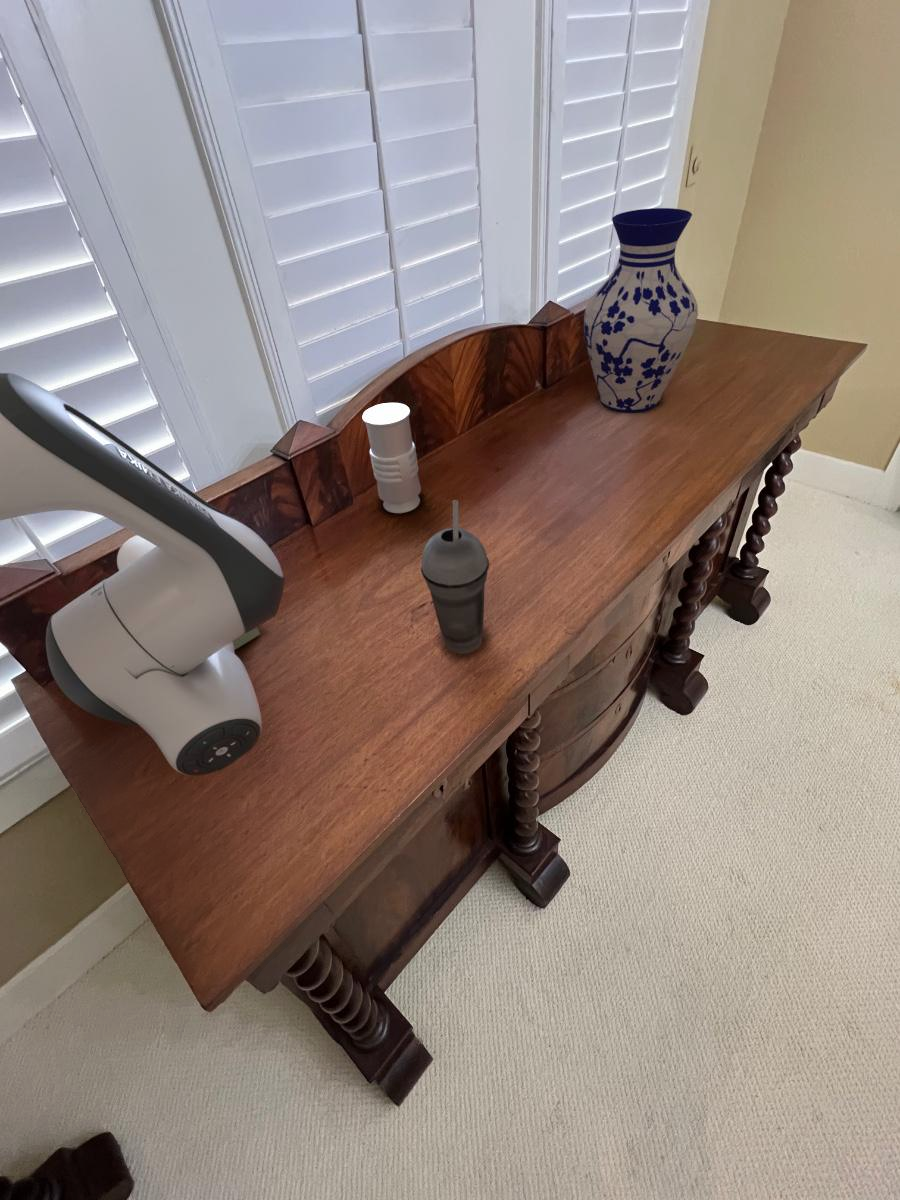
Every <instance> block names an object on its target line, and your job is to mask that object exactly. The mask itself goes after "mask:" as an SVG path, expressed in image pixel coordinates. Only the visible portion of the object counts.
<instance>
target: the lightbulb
mask: <svg viewBox="0 0 900 1200" xmlns="http://www.w3.org/2000/svg"><path fill="white" fill-rule="evenodd" d="M155 547H156V546H155V545H154V544H152V543H150V542H148V541H147V540H145V539H143V538H141V537H140V536H138V535H136V534H135V535H134V536H131V537H130V538H128V539H127V540H126V541H125V542H124V543H122V544H121V546H120V548H119V549H118V552H117V556H116V567H117V569H118V571H120V570H121V569H123V568H124V567H126V566H127V565H129V564H130V563H132V562H133V561H135V560H136V559H138V558H139V557H141V556H143V555H144V554H146V553H147V552H149V551H150V550H152V549H153V548H155Z"/></svg>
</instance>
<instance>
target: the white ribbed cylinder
mask: <svg viewBox="0 0 900 1200" xmlns="http://www.w3.org/2000/svg"><path fill="white" fill-rule="evenodd" d="M410 415H411V410H410V408H409V407H408V406H407V405H406V404H404V403H401V402H400V403H399V402H386V403H380V404H376V405H374V406H372V407H369V408H368V409H366V410H365V411H364V412H363V414H362V421H363V422H364V424H365V426H366V432H367V436H368V441H369V442H368V443H369V447H370V449H369V451H368V452H369V457H370V462H371V465H372V466H371V467H372V471H373V477H374V479H375V480H376V485H377V494H378V497H379V499H380V500H382V501H383V503H382V505H383V508H384V509H385V510H386V511H387V512H389V513H393V514H403V513H407V512H411V511H413V510H415V509H416V508H417V507H418V506H419V505H420V503H421V498H420V496H419V495H420V493H421V491H422V487H421V483H420V479H419V475H418V473H419V471H420V470H419V465H418V464H419V463H418V457H417V456H418V455H417V452H416V448H417V447H416V443H414V441H413V436H412V430H411V423H410V418H409V417H410Z"/></svg>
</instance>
